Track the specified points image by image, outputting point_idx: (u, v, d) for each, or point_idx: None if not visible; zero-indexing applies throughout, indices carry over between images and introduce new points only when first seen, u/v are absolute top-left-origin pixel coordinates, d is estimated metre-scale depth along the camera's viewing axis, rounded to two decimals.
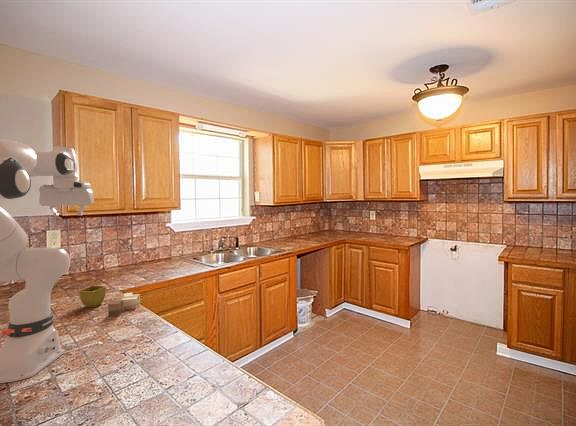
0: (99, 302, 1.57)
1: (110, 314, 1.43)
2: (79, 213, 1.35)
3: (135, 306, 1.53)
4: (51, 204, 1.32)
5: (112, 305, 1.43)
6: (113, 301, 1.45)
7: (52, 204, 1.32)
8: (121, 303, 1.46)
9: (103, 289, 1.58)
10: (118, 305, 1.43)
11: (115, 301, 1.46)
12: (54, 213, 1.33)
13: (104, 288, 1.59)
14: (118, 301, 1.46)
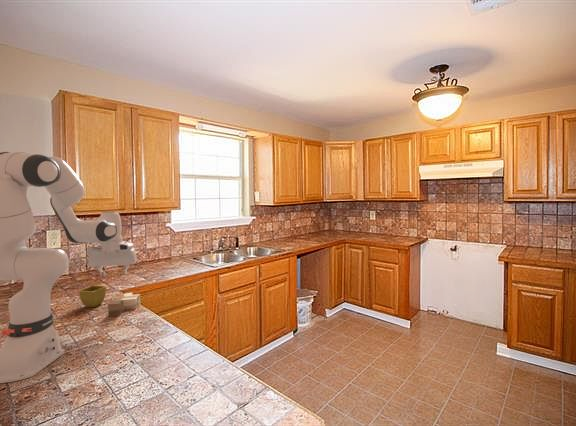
0: (99, 302, 1.57)
1: (110, 314, 1.43)
2: (124, 272, 1.44)
3: (135, 306, 1.52)
4: (99, 265, 1.41)
5: (112, 305, 1.43)
6: (113, 301, 1.45)
7: (100, 265, 1.41)
8: (121, 303, 1.46)
9: (103, 289, 1.58)
10: (118, 305, 1.43)
11: (115, 301, 1.46)
12: (101, 273, 1.42)
13: (104, 288, 1.59)
14: (118, 301, 1.46)
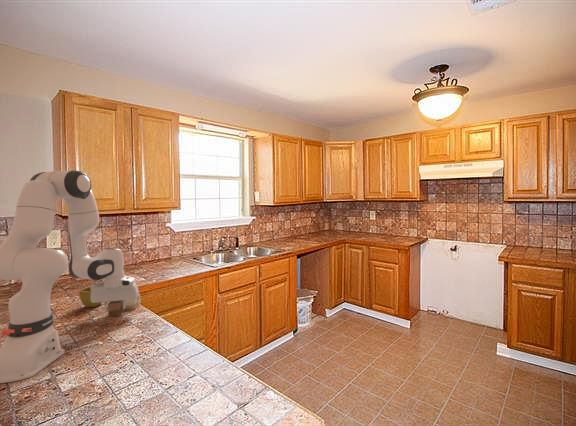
0: (99, 302, 1.57)
1: (110, 314, 1.43)
2: (122, 307, 1.45)
3: (134, 306, 1.52)
4: (101, 301, 1.42)
5: (112, 305, 1.43)
6: (113, 301, 1.45)
7: (102, 301, 1.43)
8: (121, 303, 1.46)
9: None
10: (118, 305, 1.43)
11: (115, 301, 1.46)
12: (107, 308, 1.44)
13: None
14: (118, 301, 1.46)
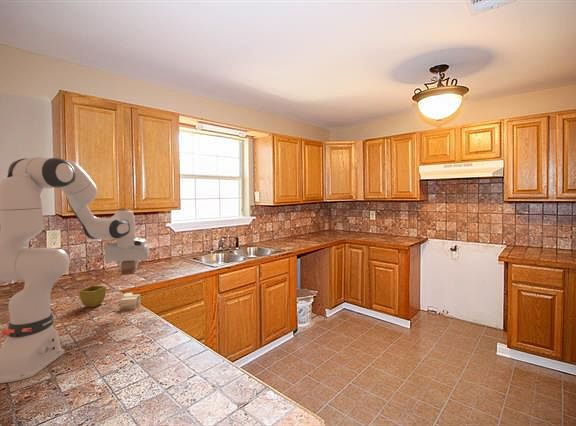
0: (99, 302, 1.57)
1: (123, 272, 1.51)
2: (135, 267, 1.53)
3: (134, 306, 1.52)
4: (114, 260, 1.50)
5: (125, 264, 1.51)
6: (125, 261, 1.53)
7: (115, 260, 1.50)
8: (133, 263, 1.54)
9: (103, 289, 1.58)
10: (130, 264, 1.51)
11: (128, 261, 1.54)
12: (120, 267, 1.52)
13: (104, 288, 1.59)
14: (131, 261, 1.54)
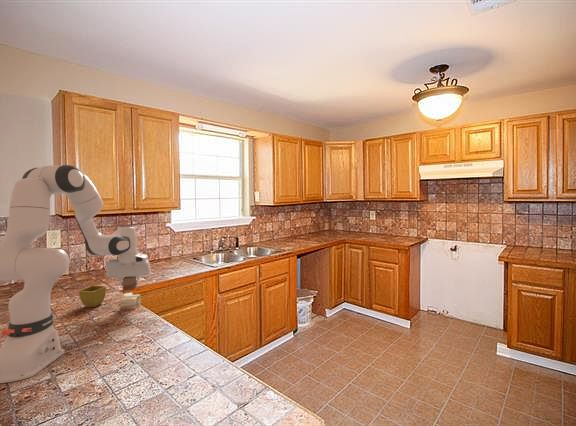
0: (99, 302, 1.57)
1: (124, 288, 1.52)
2: (136, 282, 1.54)
3: (134, 306, 1.52)
4: (116, 276, 1.51)
5: (126, 280, 1.52)
6: (127, 277, 1.54)
7: (117, 276, 1.52)
8: (134, 278, 1.55)
9: (103, 289, 1.58)
10: (132, 280, 1.52)
11: (129, 276, 1.55)
12: (121, 283, 1.53)
13: (104, 288, 1.59)
14: (132, 276, 1.55)
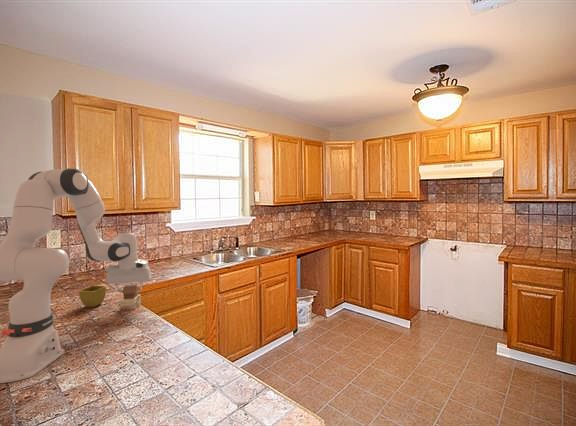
0: (99, 302, 1.57)
1: (125, 297, 1.52)
2: (139, 288, 1.55)
3: (134, 306, 1.52)
4: (116, 282, 1.52)
5: (127, 288, 1.52)
6: (127, 285, 1.55)
7: (117, 282, 1.52)
8: (135, 287, 1.55)
9: (103, 289, 1.58)
10: (132, 288, 1.53)
11: (130, 285, 1.55)
12: (118, 289, 1.53)
13: (104, 288, 1.59)
14: (133, 285, 1.55)
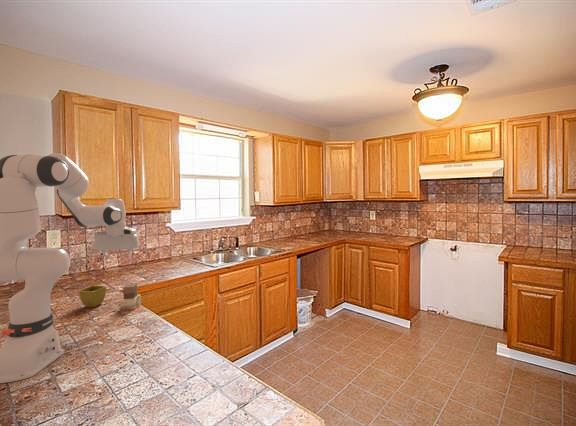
0: (99, 302, 1.57)
1: (125, 297, 1.52)
2: (127, 256, 1.53)
3: (134, 306, 1.52)
4: (104, 249, 1.50)
5: (127, 288, 1.52)
6: (127, 285, 1.55)
7: (105, 249, 1.50)
8: (135, 287, 1.55)
9: (103, 289, 1.58)
10: (133, 288, 1.53)
11: (130, 285, 1.55)
12: (106, 256, 1.51)
13: (104, 288, 1.59)
14: (133, 285, 1.55)
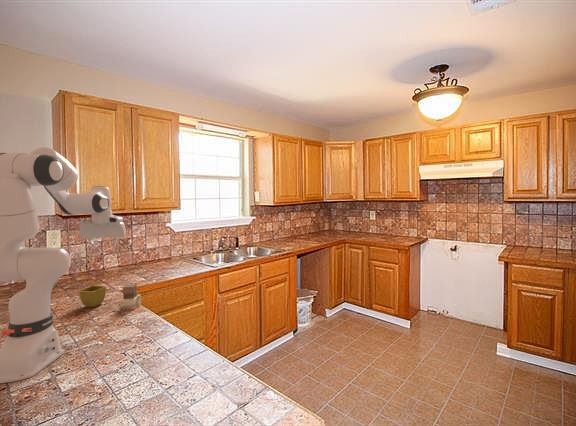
0: (99, 302, 1.57)
1: (125, 297, 1.52)
2: (113, 244, 1.53)
3: (133, 306, 1.52)
4: (89, 237, 1.50)
5: (127, 288, 1.52)
6: (127, 285, 1.55)
7: (90, 237, 1.50)
8: (135, 287, 1.55)
9: (103, 289, 1.58)
10: (132, 288, 1.53)
11: (129, 285, 1.55)
12: (92, 244, 1.51)
13: (104, 288, 1.59)
14: (132, 285, 1.55)
